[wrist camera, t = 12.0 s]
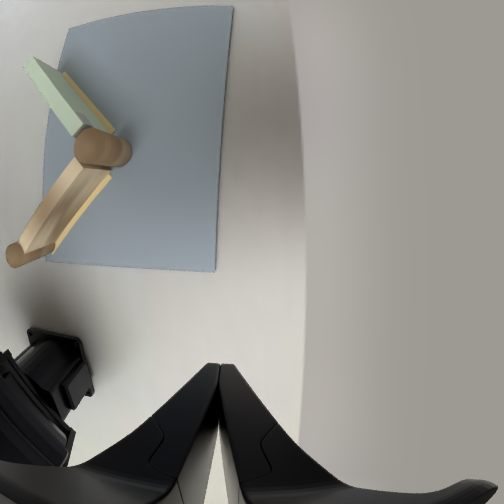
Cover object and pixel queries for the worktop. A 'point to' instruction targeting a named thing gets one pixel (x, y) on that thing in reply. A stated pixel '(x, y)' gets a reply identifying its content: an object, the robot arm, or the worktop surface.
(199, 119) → the board
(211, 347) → the worktop surface
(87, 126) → the fence panel
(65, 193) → the wooden wall with posts
